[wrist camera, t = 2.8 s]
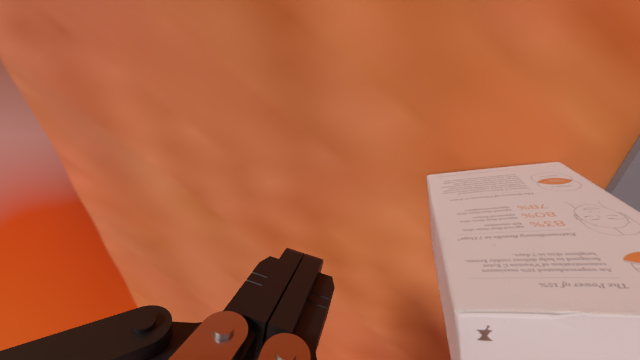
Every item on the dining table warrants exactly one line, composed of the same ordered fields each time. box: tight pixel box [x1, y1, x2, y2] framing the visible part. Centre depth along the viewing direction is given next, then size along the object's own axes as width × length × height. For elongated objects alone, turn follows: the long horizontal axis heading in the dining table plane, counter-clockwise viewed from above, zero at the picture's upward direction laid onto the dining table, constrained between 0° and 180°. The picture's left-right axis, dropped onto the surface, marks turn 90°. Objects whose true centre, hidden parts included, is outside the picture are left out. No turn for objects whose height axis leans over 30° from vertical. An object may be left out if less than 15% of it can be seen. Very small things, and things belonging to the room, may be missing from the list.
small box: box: [427, 162, 640, 360], centre depth 15 cm, size 8×6×13 cm
